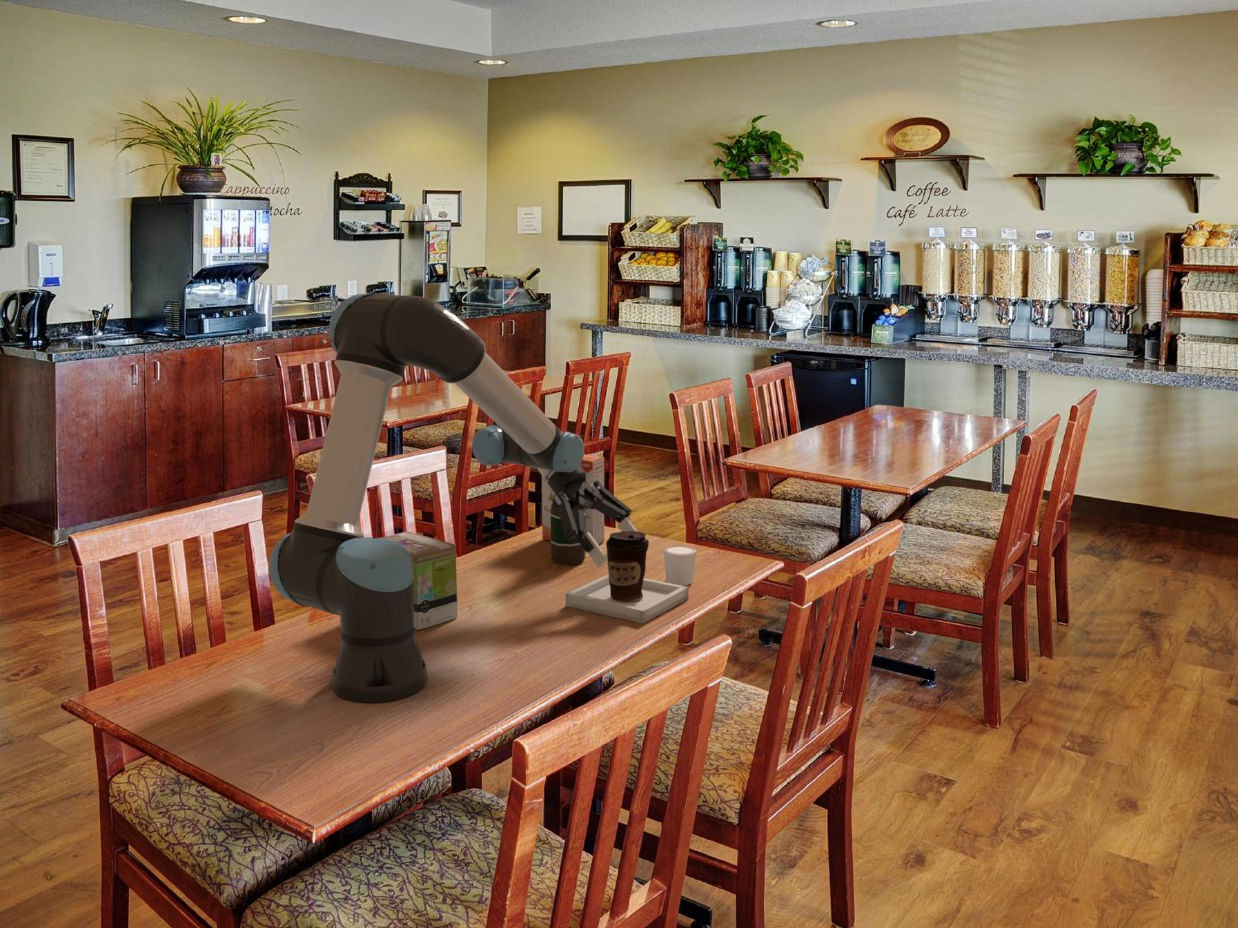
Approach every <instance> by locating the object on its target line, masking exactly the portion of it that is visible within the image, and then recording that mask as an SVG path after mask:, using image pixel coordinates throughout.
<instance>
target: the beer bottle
mask: <svg viewBox="0 0 1238 928" xmlns="http://www.w3.org/2000/svg"><path fill="white" fill-rule="evenodd" d="M583 513H584V524H585V534H586V519H585V509H584V510H583ZM570 531H571V529H570ZM586 553H587V552H586V551H585V550H584V548H583V547H582V546H581V545H580V543H579V542H578V541H576V542H575V543H573V542H572V541H571V540H568V539H567V538H566V536H565V533H564V530H563V526H562V523H561V520H560V516H559V513H558V510H557V508H556V506H555V504H554V503H553V502H552V505H551V541H550V558H551V559H550V560H551V562H552V563H554V564H556V565H559V566H569V567H570V566H575V565H576V566H577V565H580V564H583V562H584V561H585V559H586Z"/></svg>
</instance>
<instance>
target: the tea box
mask: <svg viewBox="0 0 1238 928" xmlns="http://www.w3.org/2000/svg"><path fill="white" fill-rule="evenodd" d="M381 538H384V539H388V540H391V541H395V542H397V543H399V544H401V545H402V546H404V547H405V548H406V549H407V550H408V552H409V554H410V556H411V564H412V569H413V573H414V574H413V576H414V577H413V589H414V630H417V631H419V630H423V629H427V628H430V627H434V626H437V625H440V624H443V623H445V622H446V623H447V622H450V621H452V620H454V619H457V618H458V587H457V586H458V584H457V581H458V580H457V575H458V574H457V552H456V551H457V549H456V548H457V547H456V546H457V545H456V544H455V543H450V542H448V541H443V540H439V539H436V538H433V537H430V536H427V535H426V536H425V535H422V534H418V533H416V532H411V531H404V532H399V533H395V534H391V535H388V536H383V537H381Z"/></svg>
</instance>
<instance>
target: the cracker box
mask: <svg viewBox="0 0 1238 928" xmlns="http://www.w3.org/2000/svg"><path fill="white" fill-rule="evenodd" d="M580 466H581V467H582V468H583V470H584V471H585V472H586V482H587V483H588V484H590V485H592V484H593V483H594V482H595V481H596V480H597V481H599V482H600V483H601V485H602V486H603V487H604V488H605V457H604V456H597V455H590V454H584V457H583V460H582V462H581V464H580ZM555 496H556V494H555V493H554V492H553V490H552V489H551V488H550V486H549V485H548V480H545V479H544V478H543V476H542V475H541V519H542V520H541V523H542V524H541V525H542V526H541V527H542V528H541V530H542V531H541V532H542V535H541V536H542V538H541V539H542V540H546V541H550V542H551V505H552V502H553V501H552V500H553V498H554V497H555ZM595 500H596V498H595ZM585 519H586V533H587V532H590V534H591V535H592V537H593V538H594V539H595V541H596V542H597V543H598V545H599V546H600V544H602V543H605V515H604V514H603V513H601V512H599V511H598V510H596V509H590V508H589V509H585Z"/></svg>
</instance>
